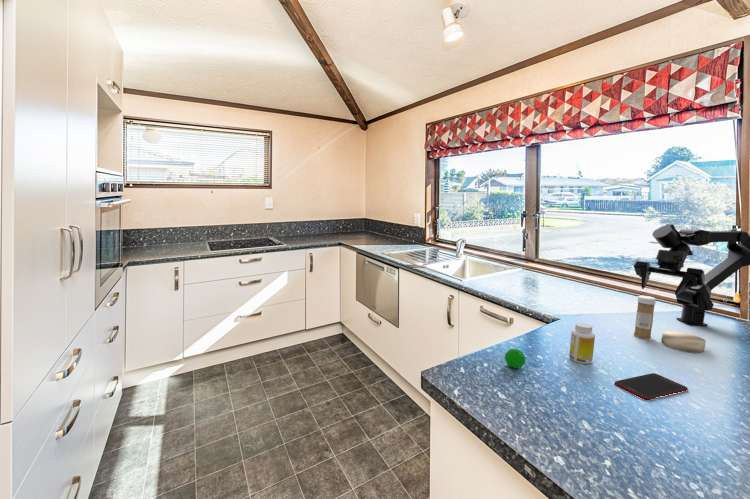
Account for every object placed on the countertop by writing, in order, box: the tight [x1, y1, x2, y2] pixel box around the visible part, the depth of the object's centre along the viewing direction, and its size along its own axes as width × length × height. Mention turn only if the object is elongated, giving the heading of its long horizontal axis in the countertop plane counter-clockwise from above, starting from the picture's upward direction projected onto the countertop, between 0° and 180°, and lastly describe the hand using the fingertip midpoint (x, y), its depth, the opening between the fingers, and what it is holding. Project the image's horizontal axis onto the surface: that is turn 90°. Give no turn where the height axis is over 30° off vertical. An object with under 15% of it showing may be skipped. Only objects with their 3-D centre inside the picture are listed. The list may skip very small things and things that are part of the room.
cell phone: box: [614, 372, 689, 401], centre depth 83 cm, size 8×15×1 cm, turn 109°
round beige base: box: [660, 330, 707, 354], centre depth 106 cm, size 10×10×3 cm
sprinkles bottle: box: [633, 295, 657, 340], centre depth 113 cm, size 5×5×13 cm
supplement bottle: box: [568, 322, 596, 365], centre depth 96 cm, size 6×6×10 cm
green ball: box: [504, 348, 526, 369], centre depth 92 cm, size 5×5×5 cm
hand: (658, 291), depth 117 cm, fingers open, 9 cm apart
